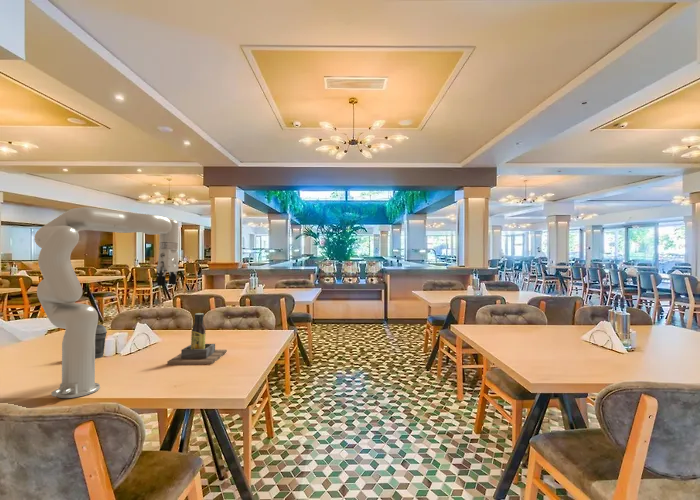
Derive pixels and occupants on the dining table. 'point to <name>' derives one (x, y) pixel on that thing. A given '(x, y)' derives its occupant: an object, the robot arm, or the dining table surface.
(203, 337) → the sauce bottle
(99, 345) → the beverage cup
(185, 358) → the condiment holder
